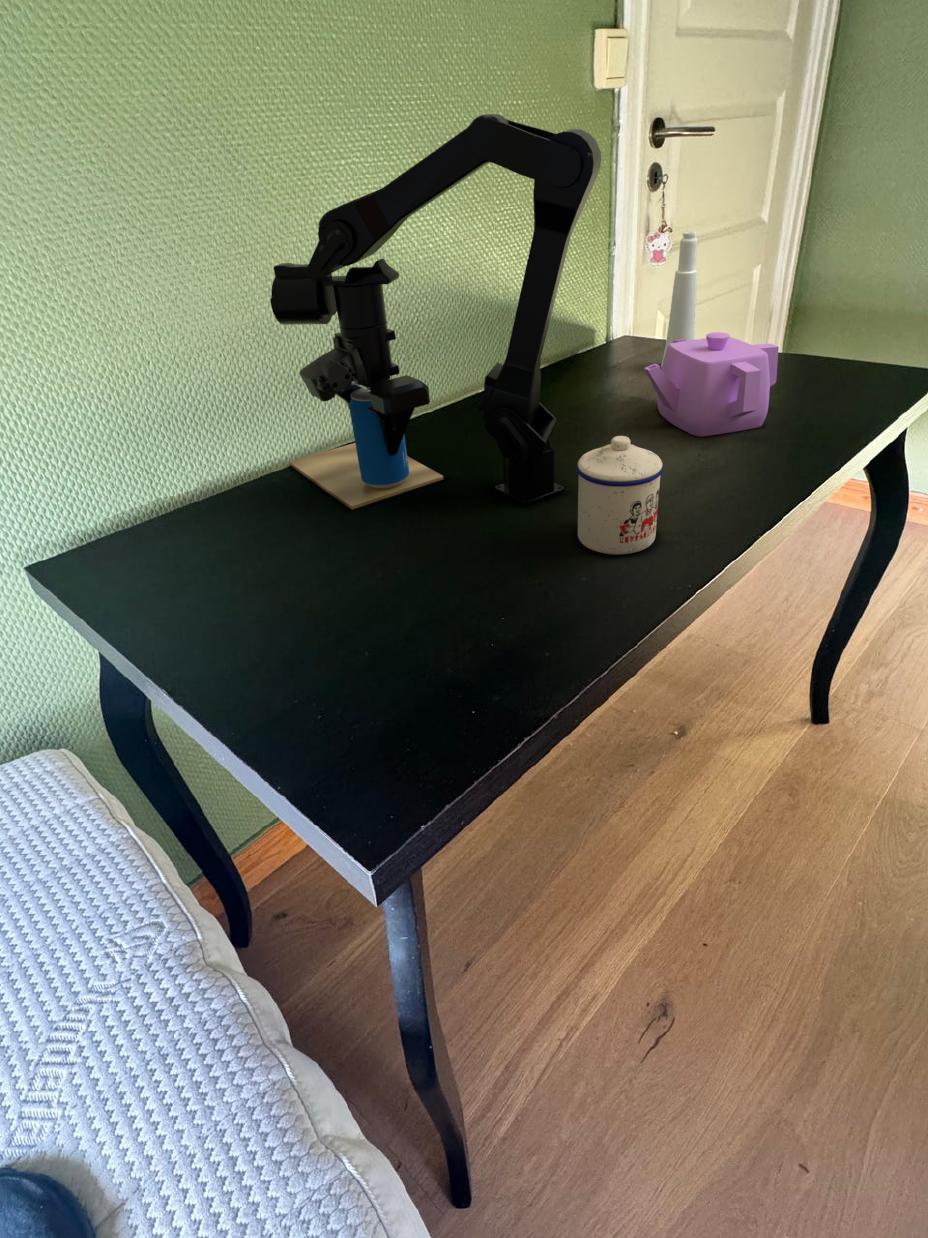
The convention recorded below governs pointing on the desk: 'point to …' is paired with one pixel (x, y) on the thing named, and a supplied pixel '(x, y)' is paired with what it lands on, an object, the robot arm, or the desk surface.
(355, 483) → the board
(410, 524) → the desk surface
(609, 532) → the teacup with lid
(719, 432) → the teakettle
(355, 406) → the beverage can
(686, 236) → the cosmetic bottle
